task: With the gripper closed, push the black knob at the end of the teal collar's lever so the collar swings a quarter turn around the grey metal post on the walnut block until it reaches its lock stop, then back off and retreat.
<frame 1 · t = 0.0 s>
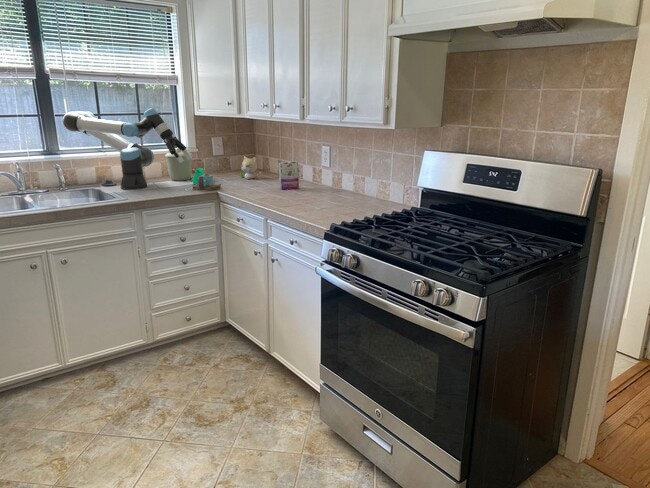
hand: (186, 160, 300), 15 cm above the countertop, tool tilted 35°, fingers open, 13 cm apart
canister: (180, 179, 322), on the countertop
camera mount: (203, 184, 308), on the countertop
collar: (204, 180, 287), point 6 cm above the countertop, hinge at 0.0°
cream rounded figure: (249, 178, 328), on the countertop
candy bar box: (288, 189, 294), on the countertop
post block: (207, 188, 292), on the countertop
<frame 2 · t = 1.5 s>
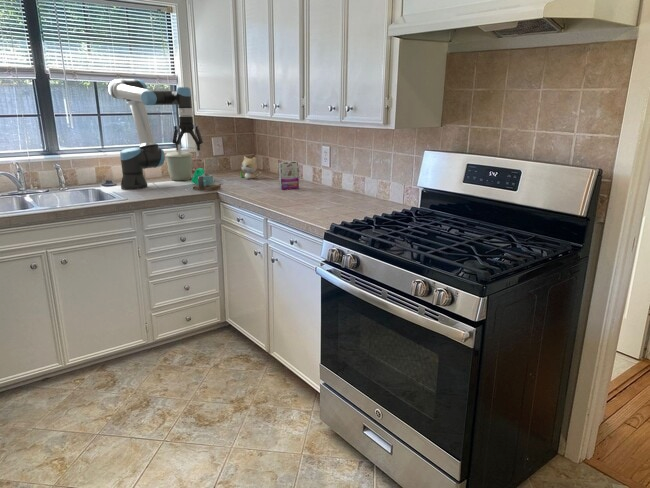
hand: (188, 156, 277), 21 cm above the countertop, tool pointing down, fingers open, 10 cm apart
nothing on the countertop moved.
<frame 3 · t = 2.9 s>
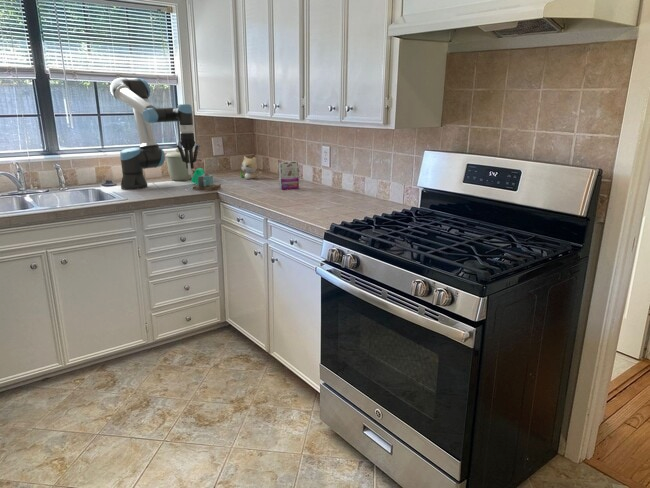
hand: (190, 174, 280), 10 cm above the countertop, tool pointing down, fingers closed
nothing on the countertop moved.
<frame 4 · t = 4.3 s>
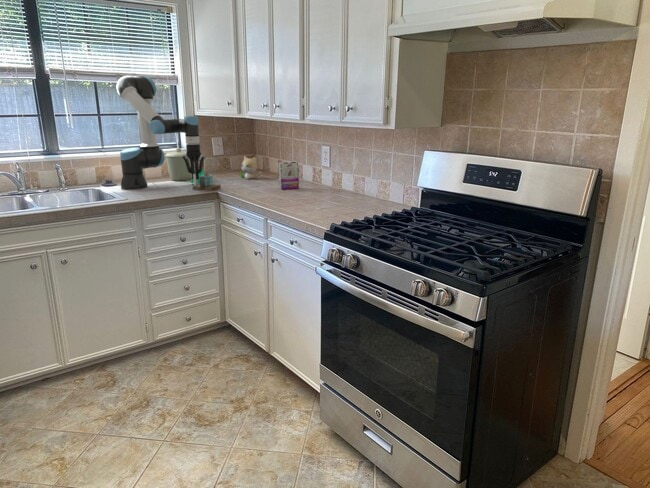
hand: (195, 184, 282), 4 cm above the countertop, tool pointing down, fingers closed
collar: (204, 180, 287), point 6 cm above the countertop, hinge at 5.0°, touching gripper
everything else where it was.
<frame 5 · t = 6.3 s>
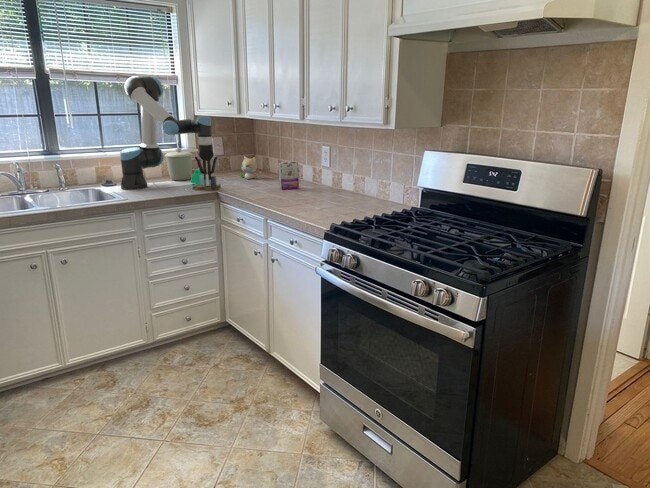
hand: (208, 185, 282), 4 cm above the countertop, tool pointing down, fingers closed
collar: (209, 180, 287), point 6 cm above the countertop, hinge at 43.5°, touching gripper
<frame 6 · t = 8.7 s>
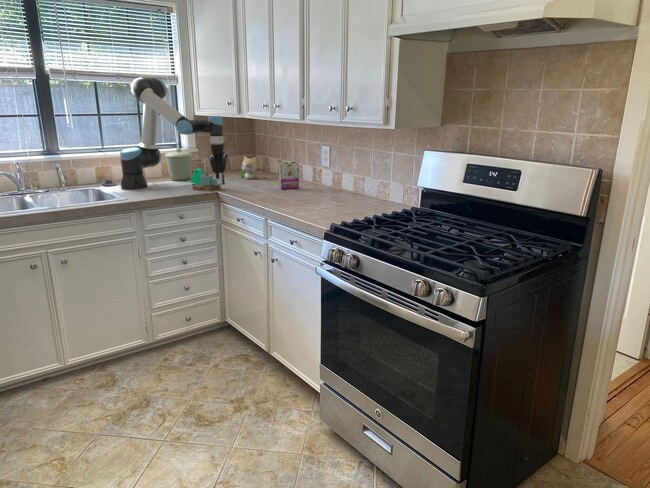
hand: (219, 183, 286), 4 cm above the countertop, tool pointing down, fingers closed
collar: (212, 179, 290), point 6 cm above the countertop, hinge at 90.6°
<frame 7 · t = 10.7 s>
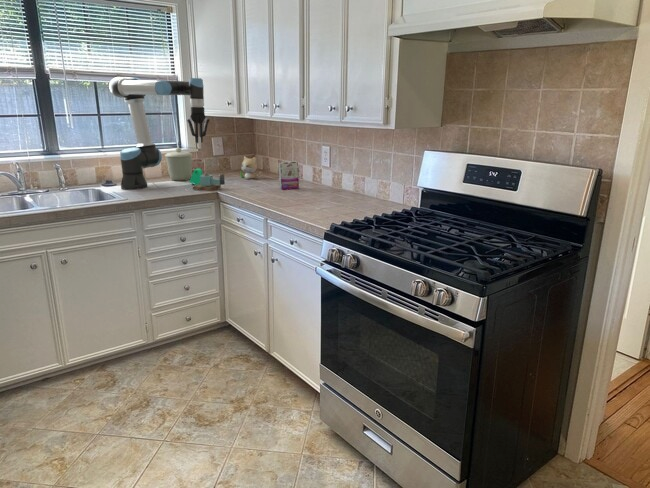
hand: (199, 148, 283), 24 cm above the countertop, tool pointing down, fingers closed
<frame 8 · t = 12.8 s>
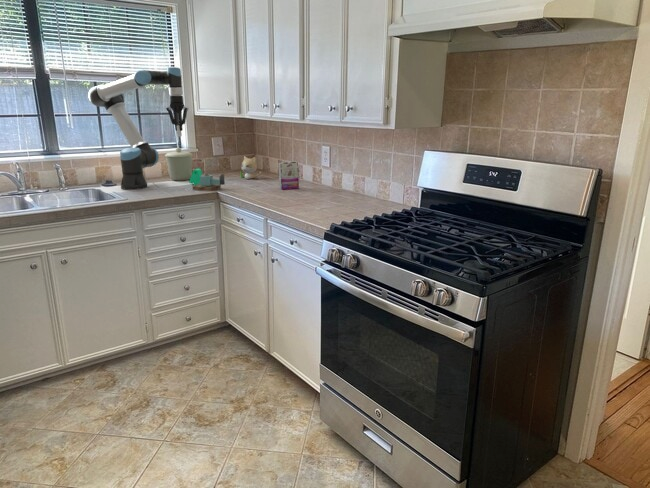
hand: (179, 136, 290), 30 cm above the countertop, tool pointing down, fingers closed
at the end: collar at +91° (first picture: +0°); the gripper is holding nothing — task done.
